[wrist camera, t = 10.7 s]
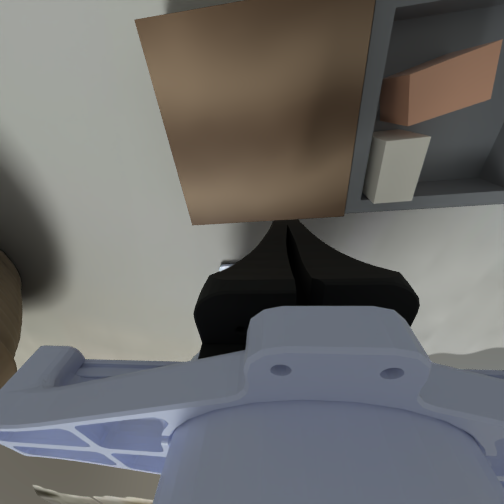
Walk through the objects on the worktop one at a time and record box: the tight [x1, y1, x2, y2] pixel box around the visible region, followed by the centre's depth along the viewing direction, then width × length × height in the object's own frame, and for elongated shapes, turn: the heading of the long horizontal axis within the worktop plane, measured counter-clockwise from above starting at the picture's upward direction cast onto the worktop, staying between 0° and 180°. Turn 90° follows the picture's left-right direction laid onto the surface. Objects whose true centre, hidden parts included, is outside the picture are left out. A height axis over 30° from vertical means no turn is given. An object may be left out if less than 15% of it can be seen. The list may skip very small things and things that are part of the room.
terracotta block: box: [380, 39, 503, 126], centre depth 13 cm, size 4×4×2 cm
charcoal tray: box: [344, 0, 504, 213], centre depth 15 cm, size 12×12×4 cm
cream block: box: [362, 129, 431, 204], centre depth 16 cm, size 4×4×2 cm
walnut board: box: [135, 0, 375, 225], centre depth 16 cm, size 12×12×4 cm
